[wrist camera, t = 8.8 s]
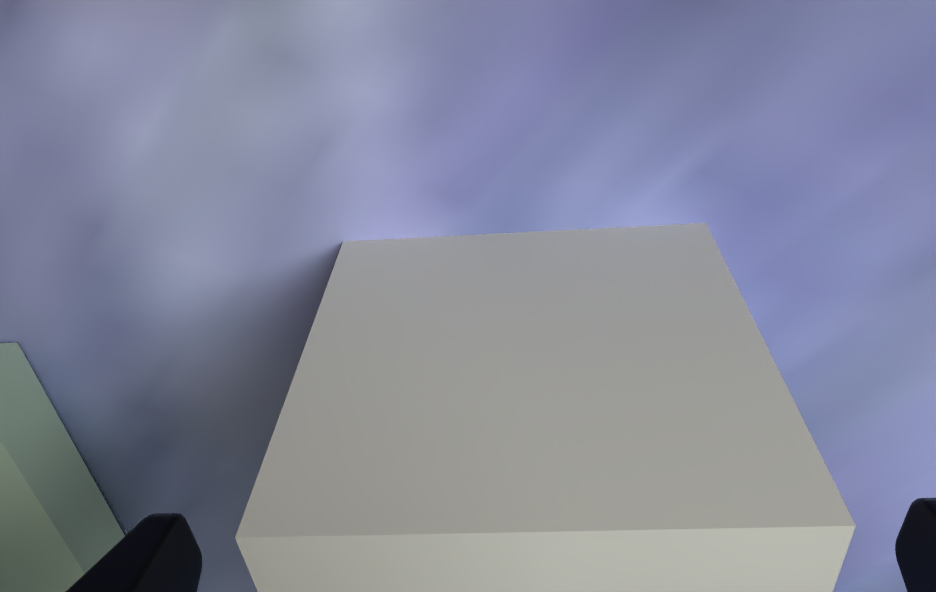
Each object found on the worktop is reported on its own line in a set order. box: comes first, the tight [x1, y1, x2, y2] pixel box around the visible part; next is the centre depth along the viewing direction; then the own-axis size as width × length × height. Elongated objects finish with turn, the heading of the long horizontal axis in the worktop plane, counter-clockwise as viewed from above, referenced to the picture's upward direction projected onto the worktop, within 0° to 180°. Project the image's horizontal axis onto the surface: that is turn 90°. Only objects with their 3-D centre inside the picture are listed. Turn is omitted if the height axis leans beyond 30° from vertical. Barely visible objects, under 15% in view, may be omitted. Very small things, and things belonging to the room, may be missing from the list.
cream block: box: [235, 223, 856, 592], centre depth 9 cm, size 5×5×5 cm
